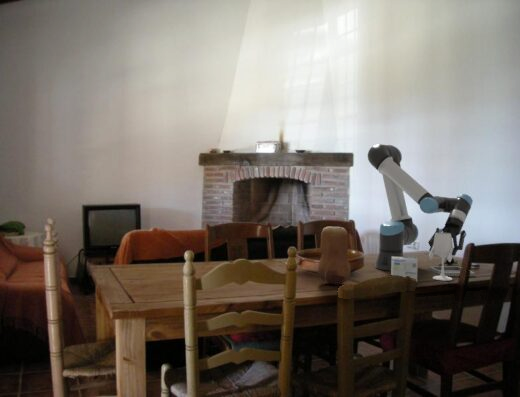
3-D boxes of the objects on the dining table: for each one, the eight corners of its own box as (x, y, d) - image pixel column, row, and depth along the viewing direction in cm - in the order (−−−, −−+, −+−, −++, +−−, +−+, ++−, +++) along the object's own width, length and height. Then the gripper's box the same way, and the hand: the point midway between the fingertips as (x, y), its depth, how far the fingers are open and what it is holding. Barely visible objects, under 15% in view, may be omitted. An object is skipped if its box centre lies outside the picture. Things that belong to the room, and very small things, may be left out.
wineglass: (428, 277, 227) (428, 232, 226) (442, 276, 230) (443, 231, 229) (442, 281, 219) (442, 234, 218) (456, 279, 222) (457, 233, 221)
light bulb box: (414, 280, 221) (415, 256, 220) (417, 283, 214) (418, 259, 214) (390, 279, 222) (390, 255, 221) (392, 282, 215) (393, 258, 215)
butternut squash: (340, 279, 219) (341, 224, 217) (355, 286, 206) (357, 227, 205) (312, 281, 214) (313, 224, 213) (326, 288, 201) (328, 228, 200)
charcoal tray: (442, 276, 230) (442, 272, 230) (428, 269, 246) (428, 266, 246) (475, 276, 231) (475, 272, 231) (458, 269, 247) (458, 266, 247)
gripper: (480, 228, 227) (464, 267, 216) (436, 224, 242) (420, 260, 231) (476, 218, 223) (460, 256, 212) (432, 214, 238) (415, 250, 227)
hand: (439, 258), depth 222 cm, fingers closed on wineglass, 8 cm apart
